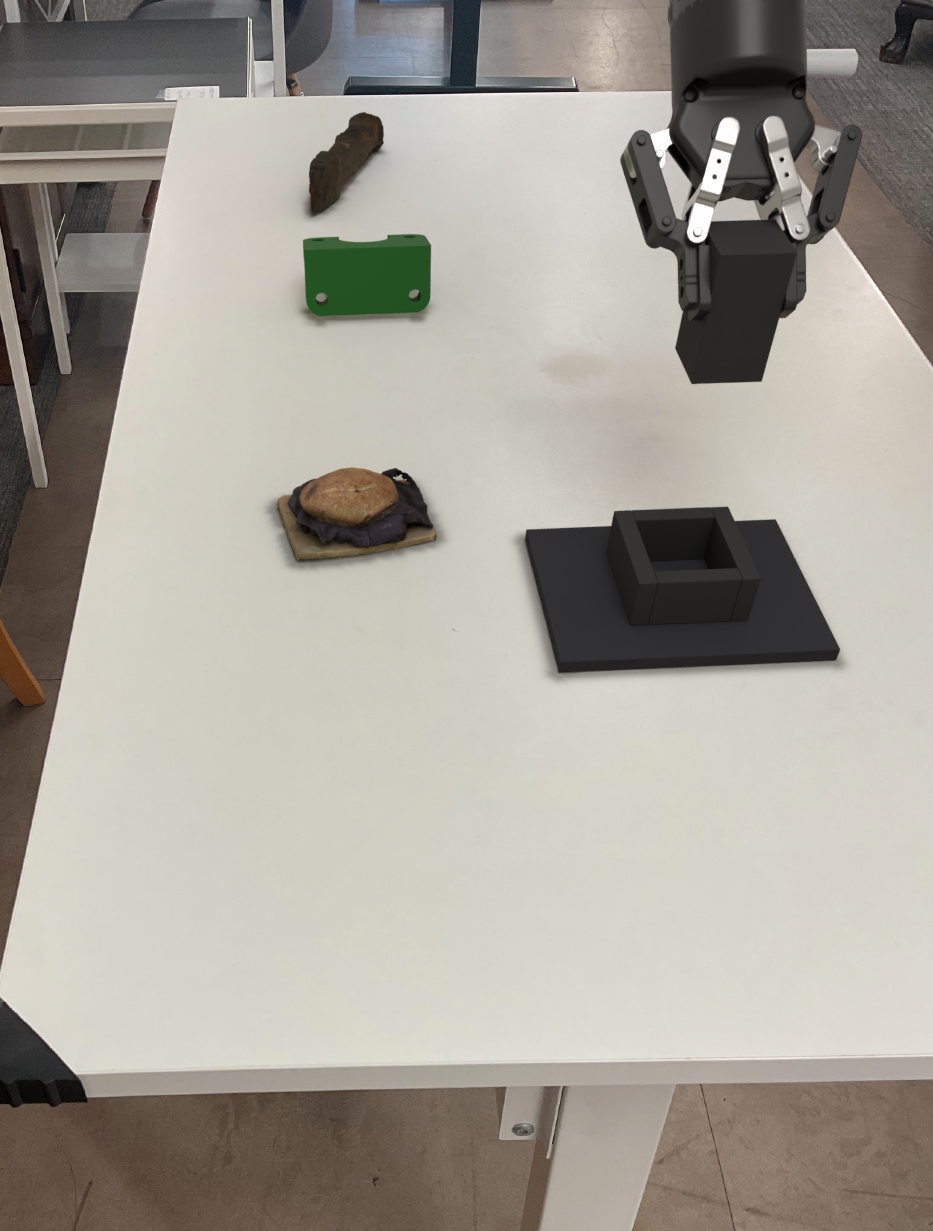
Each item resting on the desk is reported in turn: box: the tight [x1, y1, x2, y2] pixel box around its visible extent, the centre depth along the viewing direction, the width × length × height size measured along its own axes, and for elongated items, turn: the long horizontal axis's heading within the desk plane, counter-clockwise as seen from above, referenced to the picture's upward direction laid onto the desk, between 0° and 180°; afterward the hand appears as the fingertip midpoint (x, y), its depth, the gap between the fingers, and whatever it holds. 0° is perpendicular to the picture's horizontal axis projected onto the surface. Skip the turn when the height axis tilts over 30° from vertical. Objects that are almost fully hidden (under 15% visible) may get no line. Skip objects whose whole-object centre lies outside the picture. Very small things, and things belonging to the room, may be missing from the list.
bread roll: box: [276, 467, 438, 561], centre depth 85 cm, size 11×8×4 cm
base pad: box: [524, 506, 841, 674], centre depth 79 cm, size 18×14×4 cm
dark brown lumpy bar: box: [308, 111, 385, 214], centre depth 126 cm, size 19×4×5 cm, turn 160°
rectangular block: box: [674, 219, 797, 385], centre depth 71 cm, size 4×4×8 cm
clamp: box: [302, 233, 432, 317], centre depth 107 cm, size 12×6×9 cm, turn 87°
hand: (742, 313), depth 70 cm, fingers closed on rectangular block, 4 cm apart
